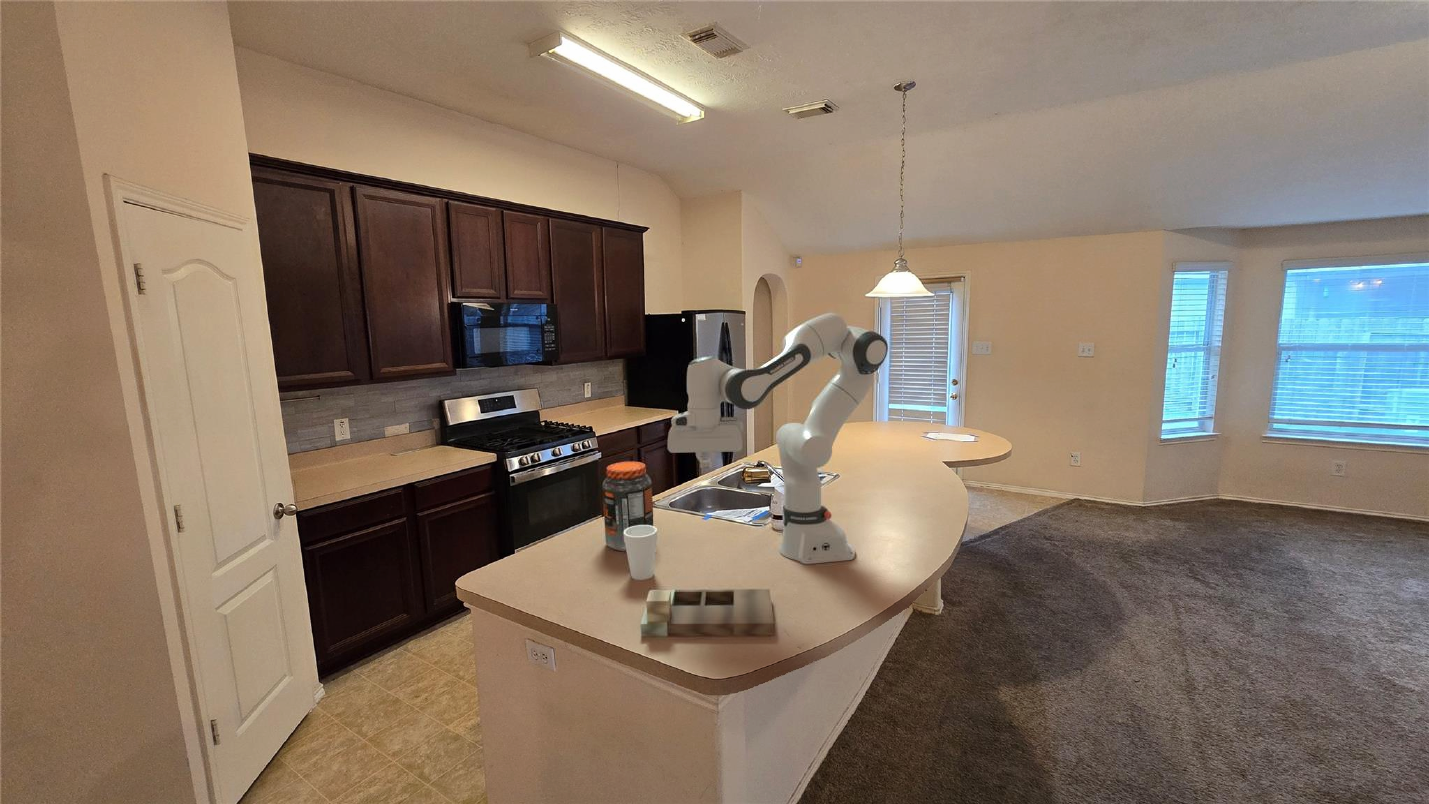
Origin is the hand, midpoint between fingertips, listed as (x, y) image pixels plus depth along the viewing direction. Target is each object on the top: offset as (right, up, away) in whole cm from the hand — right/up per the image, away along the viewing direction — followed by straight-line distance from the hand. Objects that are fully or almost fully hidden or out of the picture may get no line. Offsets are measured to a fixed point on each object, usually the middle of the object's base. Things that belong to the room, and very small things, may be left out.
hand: (705, 467), depth 148 cm
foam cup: (-18, -31, +6) cm, 37 cm away
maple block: (-10, -32, -22) cm, 40 cm away
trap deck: (+1, -34, -18) cm, 38 cm away
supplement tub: (-25, -28, +29) cm, 48 cm away
